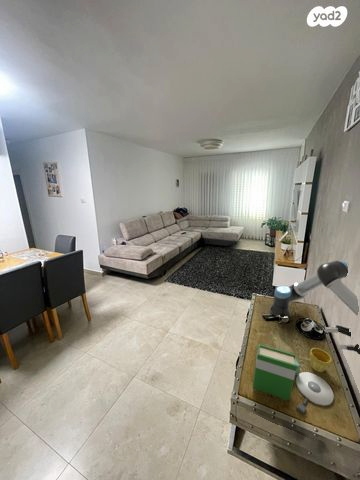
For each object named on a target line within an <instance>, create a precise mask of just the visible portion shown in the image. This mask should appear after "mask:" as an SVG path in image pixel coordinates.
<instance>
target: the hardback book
mask: <svg viewBox="0 0 360 480" xmlns="http://www.w3.org/2000/svg"><path fill="white" fill-rule="evenodd" d="M294 359H296V353H292V352H288V351H285V350H281V349H278V348H275V347H271V346H267V345H263V344H261V343H258V344H257V352H256V359H255V366H254V374H253V384H252V388H253V389H255V390H257V391H260V392H263V393H266V394H269V395H271V396H274V397H277V398H279V399H282V400H285V401H288V402H290V399H291V394H292V390H293V385H294V381H295V378H296V375H295V373H296V368H297V365H295V363H294Z"/></svg>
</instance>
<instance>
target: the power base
mask: <svg viewBox="0 0 360 480" xmlns="http://www.w3.org/2000/svg"><path fill="white" fill-rule="evenodd" d="M295 378H296V379H295V383H296V388H297V389H298V390H299V392H300V393H301V395H303V396H304V401H303V403H301V402H298V405H297V406H296V411H298V412H299V413H300V414H301V415H304V414H305V412H306V410H307V407H306V405H307V403H308V401H310V402H311V403H313V404H316V405H317V406H318V405H319V406H321V407H322V406H324V407H325V406H329V405H331V404H332V403H333V402H334V391H333V389H332V388H331V387H330V385H329V383H328V382H326V381H325V380H324V379H323V378H321V376H319V375H316V374H315V373H311V372H309V371H303V372H299V374H297V375H296V377H295Z"/></svg>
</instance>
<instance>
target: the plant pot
mask: <svg viewBox="0 0 360 480" xmlns="http://www.w3.org/2000/svg"><path fill="white" fill-rule="evenodd" d="M309 358H310V366H311V368H312V369H313V370H314V371H316V372H318V373H323V372H324V371H326V369H327V367H330V366H331V364H332V357H331V356H330V354H329V353H328V352H327V351H325V350H323V349H321V348H318V347H312V348H311V349H310V351H309Z"/></svg>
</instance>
